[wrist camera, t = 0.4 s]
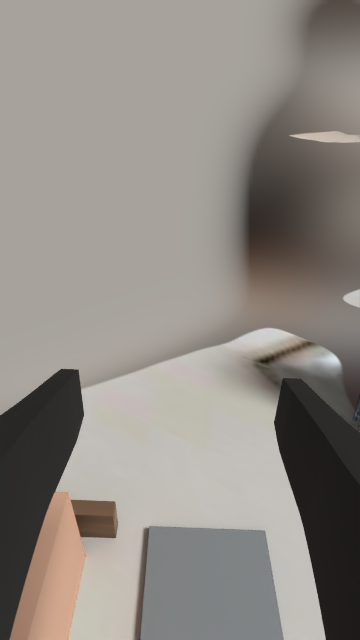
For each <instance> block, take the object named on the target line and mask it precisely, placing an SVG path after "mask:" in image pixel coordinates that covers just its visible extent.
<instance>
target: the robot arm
mask: <svg viewBox="0 0 360 640" xmlns="http://www.w3.org/2000/svg"><path fill="white" fill-rule="evenodd" d="M83 417H84V410H83V402H82V394H81V387H80V379H79V371H78V370H74V369H61V370H59V371H58V372H57V373H55V374H54V375H53V376H52V377H50V378H49V379H48V380H47V381H45V382H44V383H43V384H42V385H40V386H39V387H38V388H37V389H35V390H34V391H33V392H32V393H30V394H29V395H28V396H26V397H25V398H24V399H22V400H21V401H20V402H19V403H17V404H16V405H14V406H13V407H12V408H10V409H9V410H8V411H6V412H5V413H3V414H2V415H0V640H10V636H11V632H12V629H13V625H14V621H15V617H16V613H17V610H18V606H19V602H20V599H21V595H22V592H23V588H24V584H25V581H26V577H27V574H28V571H29V567H30V564H31V561H32V557H33V554H34V551H35V547H36V544H37V541H38V538H39V534H40V531H41V528H42V525H43V522H44V519H45V516H46V513H47V510H48V508H49V505H50V502H51V500H52V497H53V495H54V493H55V490H56V488H57V486H58V483H59V481H60V479H61V476H62V474H63V472H64V470H65V467H66V465H67V463H68V460H69V458H70V456H71V453H72V451H73V448H74V446H75V444H76V441H77V438H78V435H79V431H80V428H81V424H82V420H83ZM274 425H275V430H276V436H277V441H278V446H279V451H280V454H281V457H282V460H283V463H284V467H285V470H286V473H287V476H288V479H289V482H290V485H291V488H292V491H293V494H294V497H295V500H296V503H297V506H298V509H299V513H300V516H301V520H302V523H303V527H304V531H305V536H306V540H307V545H308V549H309V554H310V558H311V563H312V568H313V573H314V578H315V583H316V588H317V593H318V598H319V604H320V609H321V615H322V620H323V625H324V631H325V636H326V640H360V433H359V432H358V431H357V430H355V429H354V428H353V427H352V426H351V425H349V424H348V423H347V422H346V421H345V420H344V419H343V418H341V417H340V416H339V415H338V414H337V413H336V412H335V411H334V410H333V409H332V408H331V407H330V406H328V405H327V404H326V403H325V402H324V401H323V400H322V399H321V398H320V397H319V396H318V395H317V394H316V393H315V392H314V391H313V390H312V389H311V388H310V387H309V386H308V385H307V384H306V383H305V382H303V381H302V380H301V379H291V378H283V381H282V386H281V391H280V396H279V401H278V406H277V411H276V416H275V421H274Z"/></svg>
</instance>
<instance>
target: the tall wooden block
mask: <svg viewBox="0 0 360 640" xmlns="http://www.w3.org/2000/svg"><path fill="white" fill-rule="evenodd" d="M85 557H86V555H85V551H84V548H83V544H82V540H81V537H80V533H79V529H78V526H77V522H76V518H75V515H74V511H73V507H72V504H71V500H70V496H69V493H68V492H55V493H54V495H53V497H52V500H51V502H50V505H49V508H48V510H47V513H46V516H45V519H44V522H43V525H42V528H41V531H40V534H39V538H38V541H37V544H36V547H35V551H34V554H33V557H32V561H31V564H30V567H29V571H28V574H27V577H26V581H25V584H24V588H23V592H22V595H21V599H20V602H19V606H18V610H17V613H16V617H15V621H14V625H13V629H12V632H11V636H10V640H68V639H69V634H70V629H71V624H72V619H73V615H74V610H75V605H76V600H77V595H78V591H79V586H80V581H81V576H82V571H83V567H84V562H85Z"/></svg>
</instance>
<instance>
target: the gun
mask: <svg viewBox="0 0 360 640" xmlns="http://www.w3.org/2000/svg"><path fill="white" fill-rule="evenodd" d="M353 421H356V422H360V395H359V399H358V402H357V406H356V410H355V413H354V417H353Z"/></svg>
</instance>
